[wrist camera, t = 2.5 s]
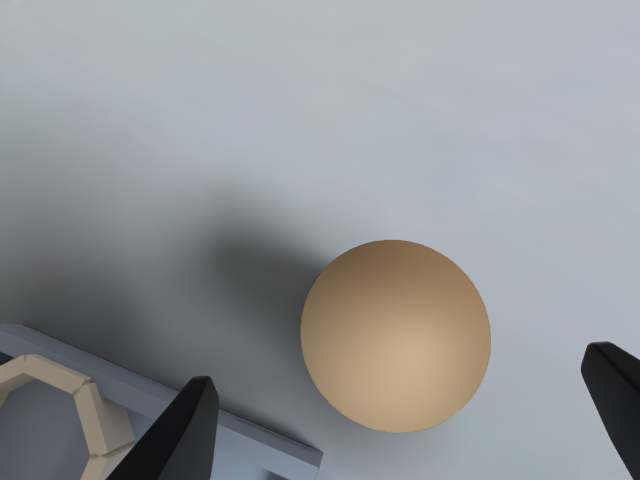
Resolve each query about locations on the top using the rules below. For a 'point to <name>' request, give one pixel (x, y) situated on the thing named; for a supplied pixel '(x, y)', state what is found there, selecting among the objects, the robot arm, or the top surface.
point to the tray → (109, 418)
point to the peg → (395, 336)
